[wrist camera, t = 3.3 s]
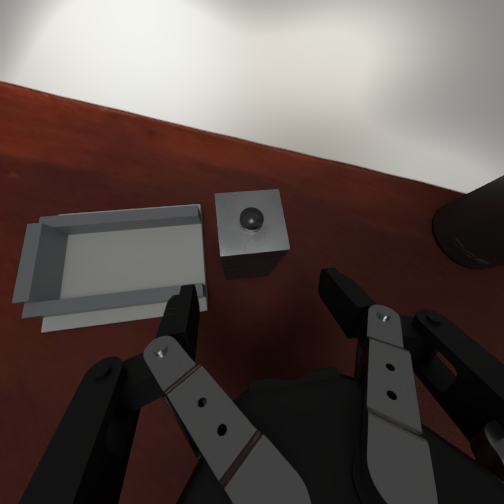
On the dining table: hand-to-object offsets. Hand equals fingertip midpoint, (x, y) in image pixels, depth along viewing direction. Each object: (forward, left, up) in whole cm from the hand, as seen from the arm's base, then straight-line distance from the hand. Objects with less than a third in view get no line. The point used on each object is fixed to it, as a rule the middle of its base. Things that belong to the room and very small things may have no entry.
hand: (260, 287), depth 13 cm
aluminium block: (-3, -4, -10) cm, 11 cm away
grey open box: (+6, -12, -10) cm, 16 cm away
